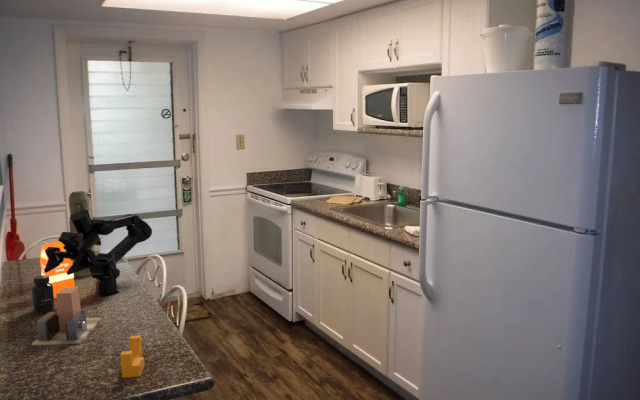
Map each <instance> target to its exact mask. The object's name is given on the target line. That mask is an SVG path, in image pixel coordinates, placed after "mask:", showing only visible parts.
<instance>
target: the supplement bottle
mask: <svg viewBox="0 0 640 400" xmlns="http://www.w3.org/2000/svg"><path fill="white" fill-rule="evenodd" d="M49 281H50V280H49V276H48V275H37V276H34V277H33V285H32V286H31V289H30V290H31V302H32V303H31V304H32V310H33V312H34V313H35V314H47V313H48V312H53V311H54V310H55V309H56V305H55V298H54V291H53V285H52V284H51V283H49Z"/></svg>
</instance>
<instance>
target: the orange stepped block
mask: <svg viewBox="0 0 640 400" xmlns="http://www.w3.org/2000/svg"><path fill="white" fill-rule="evenodd" d="M142 345H143V344H142V335H140V334H137V335H130V337H129V350H124V351H121V352H120V355H119V357H120V368H121V378H137V377H138V378H139V377H140V376H141V374H142V373H143V370H144V367H145V365H146V363H145V357H144V356H143V347H142Z"/></svg>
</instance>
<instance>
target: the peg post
mask: <svg viewBox="0 0 640 400" xmlns="http://www.w3.org/2000/svg"><path fill="white" fill-rule="evenodd" d="M79 288H80V287H79V286H75V287H64V288H63V289H61V290H60V291H59V292H58V293H56V297H57V298H56V305H57V315H58V316H59V326H60V331H63V330H66V328H65V324H66V323H67V320H69V319H70V318H71V317H72V316H73V315H74V314H75V313H76V312H77V311H82V309H81V298H80V289H79Z"/></svg>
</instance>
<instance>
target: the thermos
mask: <svg viewBox="0 0 640 400" xmlns="http://www.w3.org/2000/svg"><path fill="white" fill-rule="evenodd" d="M68 207H69V209H68V210H69V212H70V215H69V217H70V216H71V215H72V214H75V213H77V212H80V211H82V210H88V213H89V216H90V218H91V220H92V219H93V218H92V217H91V214H90V210H91V209H90V199H89V197H88V194H87V192H85V191H73V192H71V193H70V194H69V197H68ZM68 224H69V232H72V233H75V234H76V233H77V232H76V230H75V228H74V226H73V224H72V222H71V220H70V219H69V222H68ZM90 250H93V251H94V246H93V247H92V248H91V249H90ZM74 262H75V261H72V264H73V263H74ZM75 277H76V278H88V277H92V275H91V272H90V270H89V268H87V269H84V270H81V271H78V272H75V273H74V278H75Z"/></svg>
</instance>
